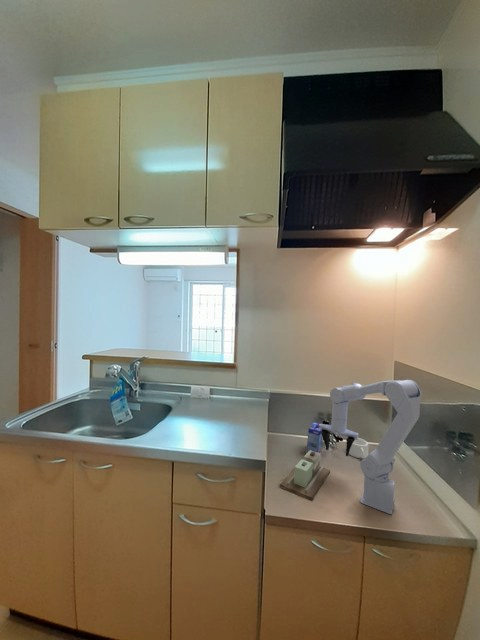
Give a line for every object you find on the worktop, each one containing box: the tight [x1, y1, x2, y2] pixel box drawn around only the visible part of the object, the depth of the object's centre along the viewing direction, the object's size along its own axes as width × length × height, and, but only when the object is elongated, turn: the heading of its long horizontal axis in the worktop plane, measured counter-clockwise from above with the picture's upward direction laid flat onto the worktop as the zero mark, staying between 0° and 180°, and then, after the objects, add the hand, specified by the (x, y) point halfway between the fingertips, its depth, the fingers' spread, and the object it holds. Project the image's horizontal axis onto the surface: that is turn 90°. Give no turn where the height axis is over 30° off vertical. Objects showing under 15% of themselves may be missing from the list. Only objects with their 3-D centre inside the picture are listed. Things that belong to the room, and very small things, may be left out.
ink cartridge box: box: [305, 421, 324, 455], centre depth 128 cm, size 10×6×14 cm, turn 152°
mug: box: [348, 437, 370, 459], centre depth 128 cm, size 12×10×6 cm
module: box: [294, 459, 313, 488], centre depth 103 cm, size 4×7×7 cm, turn 147°
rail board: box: [279, 450, 331, 501], centre depth 106 cm, size 12×22×8 cm, turn 147°
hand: (337, 452), depth 110 cm, fingers open, 7 cm apart
